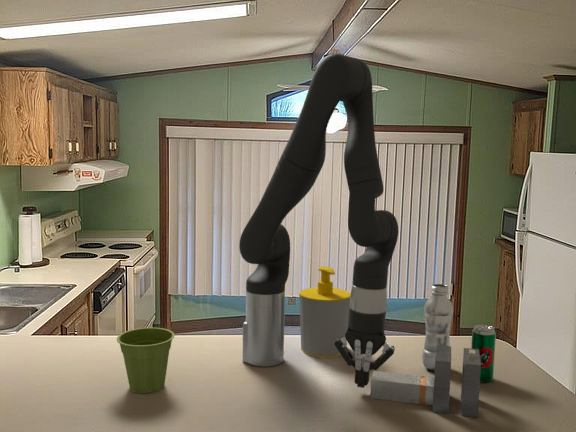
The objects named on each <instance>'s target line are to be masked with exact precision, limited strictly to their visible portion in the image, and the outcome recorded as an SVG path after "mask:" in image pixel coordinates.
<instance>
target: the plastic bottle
mask: <svg viewBox="0 0 576 432" xmlns="http://www.w3.org/2000/svg"><path fill="white" fill-rule="evenodd" d="M430 294H431V296H430V297H429V298H427V300H426V302H425V304H424V306H423V311H424V321H425V337H424V338H425V339H424V347H423V349H422V355H421V359H422V364H423V366H424V367H425V369H428V370H431V371H435V357H436V345H440V346H450V347H451V343H450V341H451V339H450V337H451V336H450V334H451V333H450V332H451V323H452V319H453V313H454V307H453V304H452V302H451V300H450V299H449V297H448V295H449V285H447V284H444V283H443V284H441V283H434V284H431V290H430Z"/></svg>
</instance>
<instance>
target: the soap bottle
mask: <svg viewBox="0 0 576 432" xmlns="http://www.w3.org/2000/svg"><path fill="white" fill-rule="evenodd" d="M317 271H320V280H318V281H317V287H316V286H315V287H309V288H304V289H302V290H300V291H299V293H298V297H299V299H298V300H299V321H300V325H299V326H300V327H299V328H300V350H301V352H303V353H304V354H306V355H308V356H311V357H317V358H337V357H340V356H342V355H341V354H340V352H339V351H338V349H337V348H336V346H335V342H336V340H337V338H342V337H343V336H345V333H346V331H347V329H348V319H349V306H350V294H351V292H350V291H347V290H345V289H342V288H336V287H334V281H332V280H331V275H333V276H334V275H335V274H336V273H335V270H334V268H332V267H330V266H320V267H318V270H317Z"/></svg>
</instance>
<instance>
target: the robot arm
mask: <svg viewBox="0 0 576 432" xmlns="http://www.w3.org/2000/svg"><path fill="white" fill-rule="evenodd" d="M372 79H373V78H372V74H371V71H370V68H369V66H368V65H367V63H366V62H364V61H363V60H361V59H359V58H356V57H352V56H349V55H345V54H341V53H330V54H328V55H327V56H324V58H322V59H321V61H320V62H319V64H318V65H317V66H316V69H315V71H314V73H313V77H312V78H311V81H310V85H309V87H308V90H307V94H306V96H305V100H304V103H303V105H302V108H301V110H300V113H299V116H298V117H297V120H296V122H295V125H294V128H293V130H292V132H291V135H290V137H289V139H288V141H287V143H286V145H285V147H284V149H283V151H282V152H281V155H280V157H279V160H278V162H277V164H276V166H275V169H274V171H273V174H272V176H271V178H270V180H269V183H268V184H267V187H266V188H265V191H264V193H263V194H262V197H261V199H260V200H259V203H258V205H257V207H256V208H255V210H254V211H253V213H252V215H251V217H250V218H249V220H248V222H247V223H246V225H245V227H244V228H243V229H242V233H241V234H240V238H239V242H238V243H239V253H240V256H241V258H242V259H243V260H244V261H245V262H246V263H248V264H250V265H257V267H256V268H255V269H254V271H253V273H251V274H250V275H249V276H248V277H247V279H246V282H245V321H244V322H243V323H242V362H243V363H247V364H249V365H252V366H257V367H273V366H277V365H280V364H282V363H283V362H284V358H285V357H284V355H285V313H286V312H285V310H286V309H285V306H286V305H285V303H286V302H285V301H286V300H285V299H286V283H287V281H288V278H289V272H290V260H291V238H290V234H289V232H288V230H287V228H286V227H285V225H284V224H282V222H283V221H284V219H286V217H287V215H288V214H289V213H290V212H291V211H292V210H293V209H294V208H295V207H296V206H297V205H298V204H299V203H300V202H301V201H302V200H303V199H304V198H305V197H306V195H307V194H308V193H309V192H310V191H311V189H312V188H313V187H314V184H315V183H316V181H317V179H318V177H319V175H320V172H321V171H322V169H323V166H324V164H325V160H326V153H327V150H326V149H327V142H326V141H327V139H326V138H327V137H326V136H327V129H328V125H329V123H330V120H331V118H332V115H333V113H334V111H335V109H336V108H337V106H338V104H339V103H340V102H342V104H343V107H344V110H345V114H346V118H347V136H346V143H345V147H344V152H343V164H344V165H343V166H344V172H345V177H346V183H347V187H348V192H349V193H348V194H349V196H348V212H347V215H348V216H347V228H348V231H349V234H350V237H351V239H352V240H353V242H354V243H355V244H356V245H358V246H359V247H363V248H365V250H364V252H363V254H361V255H360V256H358V257H356V259H355V261H354V263H353V271H352V282H351V283H352V285H351V290H350V293H351V294H350V306H349V319H348V329H347V331H346V333H345V336H343V337H342V338H337V340H336V342H335V346H336V348H337V349H338V351H339V352H340V354H341V355H340V356H341V357H342V358H343V361H344V362H345V364H346V365H347V366H348V367H352V368H354V370H355V371H354V383H355V385H357V386H356V387H358V388H361V389H362V388H363V389H364V388H365V387H366V386H368V384H369V382H370V373H371V372H370V371H372V370H373V371H378V369H380V367H381V366H383V365H384V363H386V362H387V361H388V360H389V359H390V358H391V357H392V356H393V355H394V354H395V350H396V348H395V346H394V345H391V344H389V343H388V341H387V338H386V337H387V336H386V334H385V329H386V327H385V325H386V315H387V314H386V313H387V307H388V293H387V289H388V288H387V286H388V276H389V275H388V274H389V266H390V263H391V261H392V258H393V255H394V252H395V249H396V247H397V246H396V245H397V242H398V239H399V238H398V237H399V223H398V221H397V218H396V216H395V215H394V214H393V213H392V212H391V211H389V210H385V209H382V210H381V209H380V210H379V209H378V210H376V199H377V198H380V197H381V196H382V195H383V193H384V188H385V187H384V182H383V177H382V173H381V172H382V171H381V167H380V162H379V158H378V151H377V145H376V136H375V135H376V134H375V122H374V121H375V119H374V100H373V99H374V98H373V94H374V93H373V80H372ZM348 345H349V346H350V348H351V350H352V351H353V352H354V355H353V354H352V352H351V350H350V349H349V348H348ZM382 347H383V348H382ZM381 348H382V351H381V354H380V355H379V356H378V357H377V358H376V359H375V360H374V361H373V356H374V355H375V354H377V353H378V352H379V351H380V350H381ZM363 359H364V360H363Z"/></svg>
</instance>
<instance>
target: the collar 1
mask: <svg viewBox="0 0 576 432" xmlns="http://www.w3.org/2000/svg"><path fill="white" fill-rule="evenodd" d="M451 368H452V346H451V345H450V346H440V345H436V357H435V370H434V374H433V377H434V395H433V405H432V412H433V413H440V414H449V410H450V409H449V406H450V394H451V393H450V389H451V386H450V385H451V372H452V371H451V370H452V369H451Z"/></svg>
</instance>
